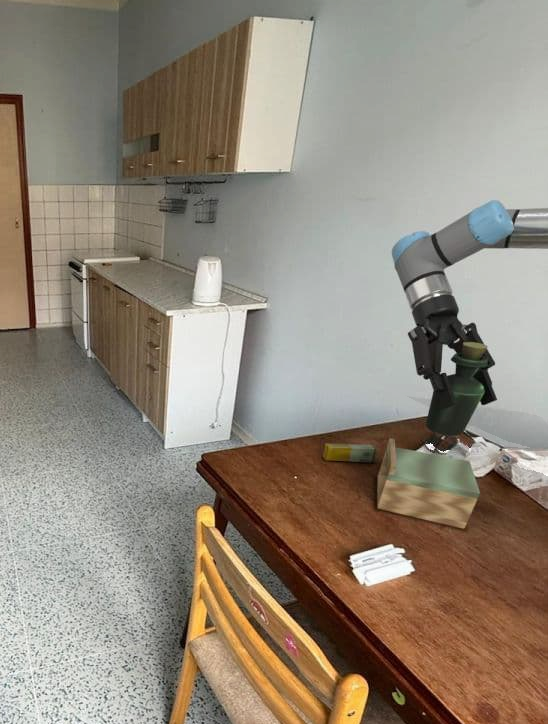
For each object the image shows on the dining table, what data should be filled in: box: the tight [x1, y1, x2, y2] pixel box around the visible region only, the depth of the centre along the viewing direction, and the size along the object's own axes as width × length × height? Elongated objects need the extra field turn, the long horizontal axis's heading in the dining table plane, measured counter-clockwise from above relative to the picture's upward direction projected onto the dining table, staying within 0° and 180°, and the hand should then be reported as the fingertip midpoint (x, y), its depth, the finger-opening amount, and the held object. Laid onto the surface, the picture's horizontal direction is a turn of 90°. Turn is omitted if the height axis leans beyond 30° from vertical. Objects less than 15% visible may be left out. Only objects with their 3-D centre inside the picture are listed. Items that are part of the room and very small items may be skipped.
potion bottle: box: [425, 342, 488, 436], centre depth 94 cm, size 8×8×18 cm
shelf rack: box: [376, 437, 481, 530], centre depth 104 cm, size 16×14×11 cm
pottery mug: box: [424, 430, 477, 454], centre depth 124 cm, size 12×10×8 cm
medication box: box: [322, 443, 377, 464], centre depth 122 cm, size 12×3×4 cm, turn 85°
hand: (469, 404), depth 92 cm, fingers closed on potion bottle, 8 cm apart
